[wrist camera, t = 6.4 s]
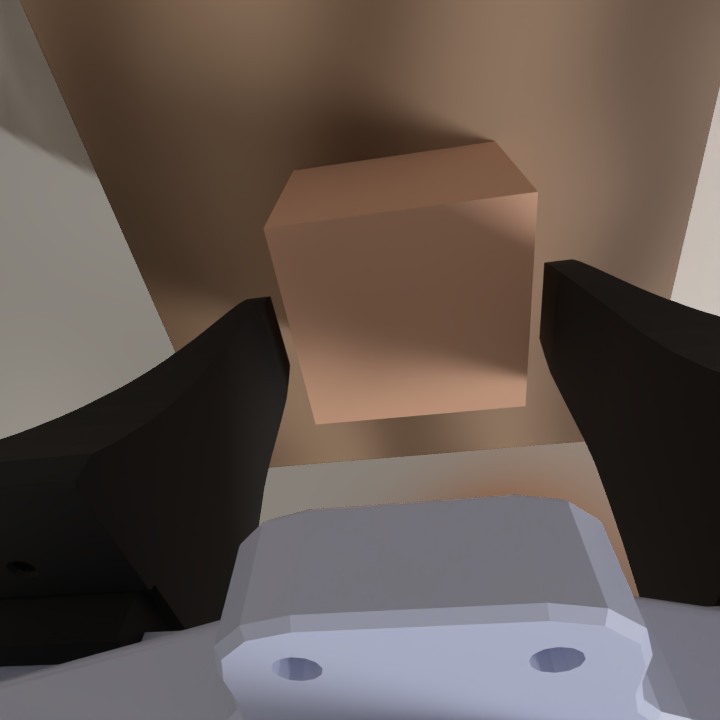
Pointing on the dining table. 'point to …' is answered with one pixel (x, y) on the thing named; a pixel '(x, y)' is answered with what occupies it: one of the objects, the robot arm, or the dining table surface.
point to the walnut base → (386, 149)
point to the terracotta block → (408, 282)
